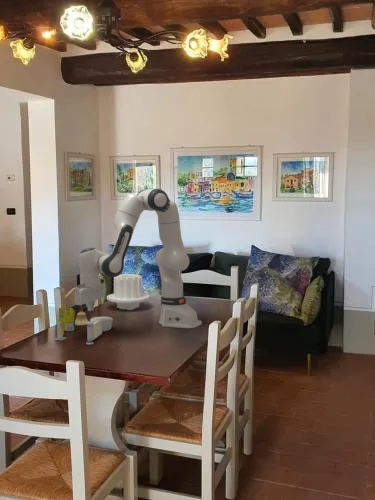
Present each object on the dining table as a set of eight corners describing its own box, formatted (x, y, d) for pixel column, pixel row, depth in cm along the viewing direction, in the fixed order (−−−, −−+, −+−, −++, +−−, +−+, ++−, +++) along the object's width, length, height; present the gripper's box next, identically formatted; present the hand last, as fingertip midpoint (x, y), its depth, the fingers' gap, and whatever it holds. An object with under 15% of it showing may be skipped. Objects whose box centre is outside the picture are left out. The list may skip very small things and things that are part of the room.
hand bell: (86, 325, 280) (85, 295, 278) (70, 325, 281) (70, 294, 279) (92, 321, 288) (91, 292, 286) (77, 321, 289) (76, 291, 287)
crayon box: (75, 329, 272) (74, 306, 271) (73, 331, 269) (73, 308, 268) (60, 329, 273) (60, 306, 271) (59, 330, 270) (58, 307, 268)
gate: (91, 342, 246) (91, 323, 245) (85, 342, 247) (84, 323, 246) (103, 333, 261) (103, 315, 260) (97, 333, 262) (97, 315, 261)
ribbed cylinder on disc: (122, 301, 337) (121, 271, 335) (157, 305, 327) (157, 274, 324) (98, 309, 315) (97, 277, 313) (135, 314, 304) (135, 280, 302)
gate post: (95, 343, 249) (94, 324, 248) (90, 345, 246) (90, 326, 245) (89, 342, 250) (88, 324, 249) (84, 344, 247) (84, 325, 246)
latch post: (68, 338, 256) (68, 322, 255) (62, 341, 252) (62, 324, 251) (59, 337, 258) (59, 320, 257) (53, 339, 254) (53, 322, 253)
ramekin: (85, 329, 273) (85, 318, 273) (104, 325, 281) (104, 315, 280) (98, 333, 265) (97, 323, 265) (117, 329, 273) (117, 319, 272)
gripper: (81, 286, 251) (83, 315, 253) (107, 278, 269) (108, 306, 271) (70, 285, 254) (72, 314, 256) (96, 278, 272) (97, 305, 274)
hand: (90, 310), depth 264 cm, fingers closed
